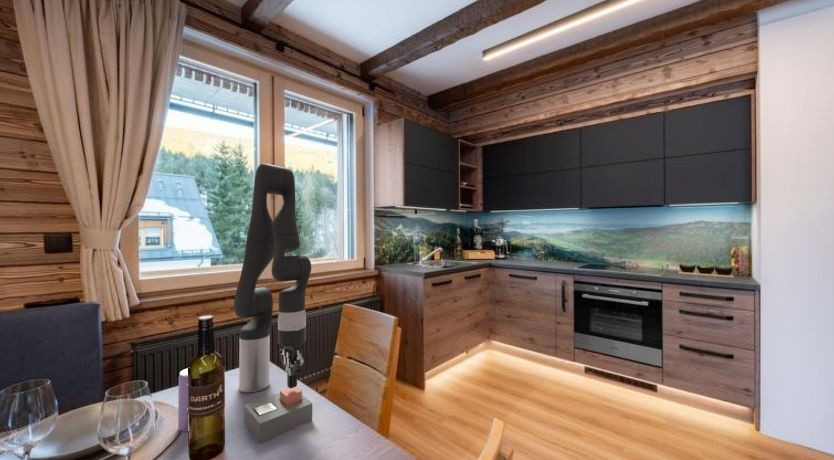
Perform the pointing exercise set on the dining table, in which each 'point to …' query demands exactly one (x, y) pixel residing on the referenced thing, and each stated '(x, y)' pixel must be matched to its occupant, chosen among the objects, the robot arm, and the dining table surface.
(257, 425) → the grey plug holder
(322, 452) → the dining table surface
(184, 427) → the beverage can
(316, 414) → the dining table surface
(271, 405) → the plug
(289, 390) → the orange cube
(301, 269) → the robot arm
